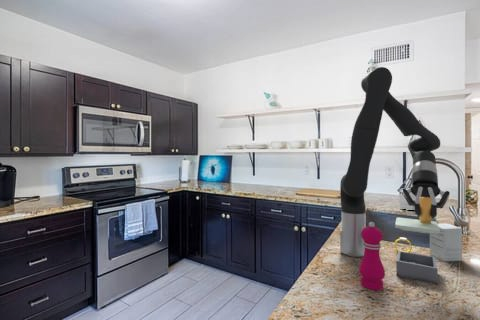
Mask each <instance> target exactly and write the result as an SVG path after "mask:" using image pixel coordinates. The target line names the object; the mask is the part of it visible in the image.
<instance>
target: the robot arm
mask: <svg viewBox="0 0 480 320" xmlns="http://www.w3.org/2000/svg"><path fill="white" fill-rule="evenodd" d="M392 82H393V74H392V72H391V70H390V69H389V68H387V67H385V66H379V67H376V68H374V69H373V70H371V71H369V72H368V73H367V74H365V75H364V76H363V78H362V79H361V83H360V85H361V89H362V91H363V92H364V93H365V99H364V103H363V106H362V108H361V109H360V111H359V114H358V116H357V118H356V120H355V123H354V126H353V130H352V134H351V135H352V136H351V138H350V139H351V140H350V158H349V164H348V168H347V171H346V174H344V175H343V176H342V178H341V179H340V190H339V191H340V192H339V193H340V205H341V206H340V207H341V211H340V212H341V217H340V219H341V228H340V229H339V239H340V240H339V241H340V242H339V243H340V244H339V245H340V246H339V247H340V248H339V249H340V250H339V252H340V254H343V255H345V256H349V257H353V258H357V257H358V258H363V257H364V251H365V249H364V246H363V241H364V240H363V239H362V237H361V232H362V230H363V228H365V227H367V225H366V224H367V219H366V218H367V216H366V213H367V212H366V211H367V210H366V209H367V208H366V207H367V206H366V202H365V192H366V190H367V188H368V180H369V171H370V165H371V162H372V158H373V154H374V152H375V147H376V144H377V140H378V135H379V132H380V126H381V122H382V117H383V112H385V114H386V115H388V117H389V118H390V120H392V122H393V123H394V124H395V126H396V127H397V128H398V129H399V131H400V132H401V134H402V135H404V136H405V137H410V136H418V137H415V138H413V139H411V140H410V141H409V142H408V144H407V149H408V150H409V152H410V156H411V158H412V169H411V173H412V174H411V187H410V188H408V189H407V190H406V189H405V188H406V187H403V188H404V189H403V188H402V189H403V196H404V197H405V199H406V201H407V203H408V204H409V205H410V206H414V207H415V211H414V215H415V216H416V217H418V218H419V217H420V197H430V198H432V203H431V219H435V218H437V216H438V215H437V214H438V211H437V210H438V209H441V210H442V209H444V207H445V205H446V203H447V201H448V200H449V198H450V191H449V190H446V191H445V190H441V189H440V187H439V179H438V170H437V163H436V161H437V160H436V156H435V154H434V153H433V152H435V151H436V150H437V149H440V147H441V139H440V138H439V136H437V134H435V133H434V132H432V131H431V130H429V129H428V128H427V127H426V126H424V125H423V124H422V123H421V122H420V121H419V119H417V117H416V116H415V115H414V113H413V112H412V111H411V109H409V108H408V107H407V106H406V105H404V104H402V103H401V102H400V101H399V100H398V99H396V98H395V97H394V96H393V95H392V94H391V92H390V90H391V86H392ZM410 193H413V194H414V195H415V196H416V200H415V201H414V200H412V198H411V196H410ZM439 195H440V199H439V202H437V201H436V198H437V197H438V196H439Z"/></svg>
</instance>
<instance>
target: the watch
mask: <svg viewBox="0 0 480 320" xmlns="http://www.w3.org/2000/svg"><path fill="white" fill-rule="evenodd" d="M399 241H403V242H408V244H409V246H410V247H409V249H408V250H407V251H406V250H403V251H404V252H410V253H411V252H412V248H413V247H412V243H411V242H410V240H408V238H406V237H401V236H400V237H399V238H398V239H396V240H395V241H394V248H395V250H396V251H397V252H398V251H400V250H399V248H397V245H396V244H397V243H398V242H399Z"/></svg>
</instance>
